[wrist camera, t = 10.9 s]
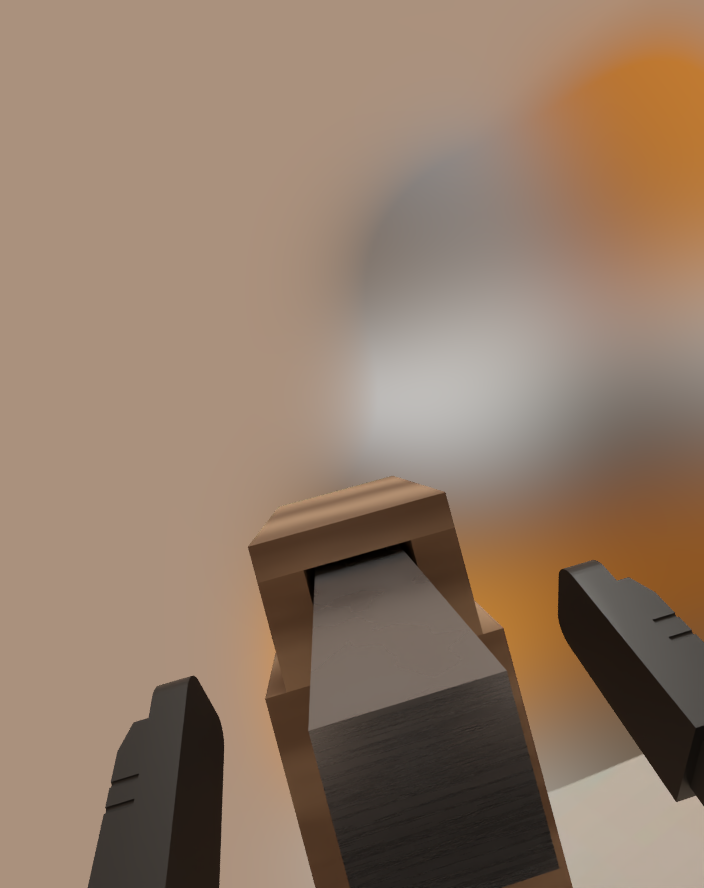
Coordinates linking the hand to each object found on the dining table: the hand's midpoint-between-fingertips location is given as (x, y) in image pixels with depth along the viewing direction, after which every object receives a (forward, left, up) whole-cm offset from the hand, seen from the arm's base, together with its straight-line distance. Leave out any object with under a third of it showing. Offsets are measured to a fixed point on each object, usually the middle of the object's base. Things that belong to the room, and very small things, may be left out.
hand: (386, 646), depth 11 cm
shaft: (+10, -3, -2) cm, 10 cm away
